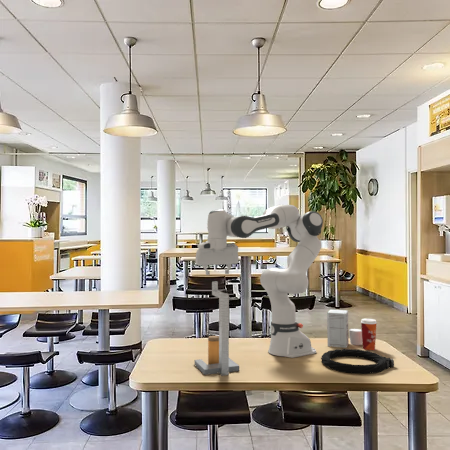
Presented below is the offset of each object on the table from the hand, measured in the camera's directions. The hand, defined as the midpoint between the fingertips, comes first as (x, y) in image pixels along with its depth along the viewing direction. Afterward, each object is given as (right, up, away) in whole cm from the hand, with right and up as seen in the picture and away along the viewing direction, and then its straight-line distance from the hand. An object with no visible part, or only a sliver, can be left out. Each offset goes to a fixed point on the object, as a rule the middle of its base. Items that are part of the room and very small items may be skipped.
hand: (217, 274), depth 210 cm
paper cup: (+73, -37, +9) cm, 83 cm away
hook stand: (+1, -37, -24) cm, 44 cm away
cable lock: (+60, -37, -16) cm, 72 cm away
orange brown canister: (-1, -37, -18) cm, 41 cm away
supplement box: (+60, -37, +16) cm, 72 cm away
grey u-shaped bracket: (0, -37, -21) cm, 42 cm away
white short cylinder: (+70, -37, +19) cm, 81 cm away
